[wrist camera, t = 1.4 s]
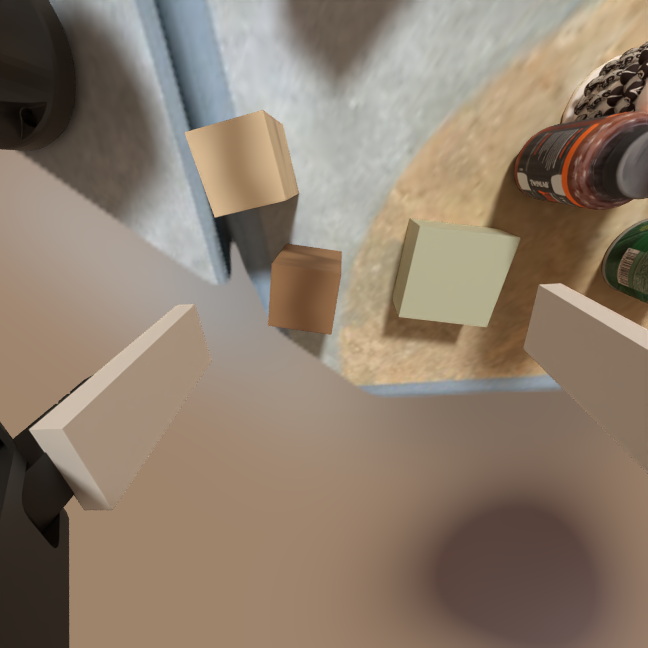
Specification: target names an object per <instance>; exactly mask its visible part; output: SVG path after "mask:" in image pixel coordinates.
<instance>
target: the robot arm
mask: <svg viewBox="0 0 648 648" xmlns="http://www.w3.org/2000/svg"><path fill="white" fill-rule="evenodd" d="M74 101H75V72H74V66H73V60H72V56H71V52H70V48H69V45H68V42H67V39H66V36H65V33H64V31H63V28H62V26H61V23H60V21H59V19H58V17H57V15H56V13H55V11H54V9H53V7H52V6H51V4H50V2H49V0H0V149H6V150H34V149H38V148H41V147H44V146H46V145H48V144H50V143H51V142H53V141H54V140H55V139H56V138H58V137H59V135H60V134H61V133H62V132H63V131H64V129H65V127H66V126H67V124H68V122H69V120H70V117H71V114H72V111H73V107H74ZM523 349H524V350H525V351H526V352H527V353H528V354H529V355H530V356H531V357H532V358H533V359H534V360H535V361H536V362H537V363H538V364H539V365H540V366H541V367H542V368H543V369H544V370H545V371H546V372H547V373H548V374H549V375H550V376H551V377H552V378H553V379H554V380H555V381H556V382H557V383H558V384H559V385H560V386H561V387H562V388H563V389H564V390H565V391H566V392H567V393H568V394H569V395H570V396H571V397H572V398H573V399H574V400H575V401H576V402H577V403H578V404H579V405H580V406H581V407H582V408H583V409H584V410H585V411H586V412H587V413H588V414H589V415H590V416H591V417H592V418H593V419H594V420H595V421H596V422H597V423H598V424H599V425H600V426H601V427H602V428H603V429H604V430H605V431H606V432H607V433H608V434H609V435H610V436H611V437H612V438H613V439H614V440H615V441H616V442H617V443H618V444H619V445H620V446H621V447H622V448H623V449H624V450H625V451H626V452H627V453H628V454H629V455H630V456H631V457H632V458H633V459H634V460H635V461H636V462H637V463H638V464H639V465H640V466H641V467H642V468H643V469H644V470H645V471H646V472H647V473H648V329H646V328H644V327H642V326H640V325H638V324H636V323H634V322H633V321H631V320H629V319H627V318H625V317H623V316H621V315H619V314H618V313H616V312H614V311H612V310H610V309H608V308H606V307H604V306H603V305H601V304H599V303H597V302H595V301H593V300H591V299H589V298H587V297H586V296H584V295H582V294H580V293H578V292H576V291H574V290H572V289H571V288H569V287H567V286H565V285H563V284H561V283H558V284H541V285H539V286H538V290H537V294H536V298H535V302H534V307H533V311H532V315H531V319H530V323H529V327H528V331H527V335H526V339H525V343H524V348H523ZM211 362H212V361H211V357H210V354H209V350H208V347H207V344H206V340H205V337H204V333H203V330H202V327H201V323H200V320H199V316H198V313H197V309H196V306H195V304H189V305H176V306H175V307H174V308H173V309H172V310H170V311H169V312H168V313H167V314H166V315H164V316H163V317H162V318H161V319H160V320H159V321H158V322H156V323H155V324H154V325H153V326H151V327H150V328H149V329H148V330H147V331H145V333H143V334H142V335H141V336H140V337H138V338H137V339H136V340H135V341H133V342H132V343H131V344H130V345H129V346H128V347H126V348H125V349H124V350H123V351H122V352H121V353H119V354H118V355H117V356H116V357H115V358H113V359H112V360H111V361H110V362H109V363H107V364H106V365H105V366H104V367H103V368H101V369H100V370H99V371H98V372H97V373H95V374H94V375H92V376H90V377H89V378H87V379H85V380H84V381H82V382H81V383H80V384H79V385H78V386H76V387H75V388H74V389H73V390H72V391H71V392H70V394H67V395H66V396H64V397H63V398H62V399H61V400H60V401H59V403H58V404H55V405H53V407H51V408H50V409H49V410H47V411H46V412H45V413H44V414H43V415H41V416H40V417H39V418H38V419H37V420H35V421H34V422H33V423H32V424H31V425H29V426H28V427H27V428H26V429H25V430H23V431H22V432H21V433H20V434H19V435H17V436H16V437H15V438H14V439H12V437H11V436H10V435H9V433H8V432H7V430H6V429H5V428H4V426H3V425H2V424H1V423H0V648H69V517H68V515H67V512H66V511H65V509H64V508H63V507H64V506H65V505H66V504H67V502H68V501H69V500H70V499H71V498H72V496H73V495H74V496H75V497H76V499H77V500H78V502H79V503H80V505H81V506H82V507H83V509H84V510H113V509H114V508H115V506H116V505H117V503H118V501H119V500H120V499H121V497H122V495H123V494H124V493H125V491H126V490H127V488H128V487H129V485H130V484H131V482H132V480H133V479H134V477H135V476H136V474H137V473H138V471H139V470H140V468H141V467H142V465H143V464H144V462H145V461H146V459H147V458H148V456H149V455H150V453H151V452H152V450H153V449H154V447H155V446H156V444H157V443H158V441H159V440H160V438H161V437H162V435H163V434H164V432H165V431H166V429H167V428H168V426H169V425H170V423H171V422H172V420H173V419H174V417H175V416H176V414H177V413H178V411H179V410H180V408H181V407H182V405H183V404H184V402H185V401H186V399H187V398H188V396H189V395H190V393H191V392H192V390H193V389H194V387H195V386H196V384H197V383H198V381H199V380H200V378H201V377H202V375H203V374H204V372H205V371H206V369H207V368H208V366H209V365H210V363H211Z"/></svg>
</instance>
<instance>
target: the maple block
mask: <svg viewBox="0 0 648 648" xmlns="http://www.w3.org/2000/svg"><path fill="white" fill-rule="evenodd" d="M185 135H186V138H187V141H188V144H189V146H190V149H191V152H192V155H193V158H194V160H195V163H196V166H197V169H198V172H199V174H200V177H201V180H202V183H203V186H204V188H205V191H206V194H207V197H208V200H209V202H210V205H211V208H212V211H213V213H214V216H215V217H219V216H223V215H227V214H231V213H236V212H240V211H244V210H248V209H252V208H257V207H261V206H265V205H269V204H273V203H278V202H282V201H286V200H288V199H290V198H291V197H293V196H295V195H297V194H299V191H298V187H297V182H296V178H295V174H294V170H293V166H292V161H291V157H290V153H289V149H288V144H287V140H286V136H285V132H284V128H283V124H281V123H280V122H278V121H277V120H276V119H274V118H273V117H272V116H270V115H269V114H268V113H266V112H265V111H264V110H261V111H258V112H254V113H251V114H247V115H244V116H240V117H237V118H233V119H230V120H226V121H223V122H219V123H216V124H212V125H209V126H205V127H202V128H198V129H195V130H191V131H188V132H185Z"/></svg>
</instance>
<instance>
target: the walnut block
mask: <svg viewBox="0 0 648 648" xmlns="http://www.w3.org/2000/svg"><path fill="white" fill-rule="evenodd" d="M341 258H342V252H341V251H334V250H327V249H320V248H313V247H306V246H299V245H293V244H286V246H285V247H284V248H283V249H282V251H281V252H280V253H279V255H278V256H277V257H276V259H275V260H274V261H273V263H272V268H271V285H270V303H269V321H268V322H269V323H268V325H269V326H274V327H281V328H288V329H296V330H303V331H310V332H317V333H324V334H331V333H332V327H333V321H334V315H335V309H336V303H337V296H338V290H339V284H340V278H341Z"/></svg>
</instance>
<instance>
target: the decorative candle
mask: <svg viewBox="0 0 648 648" xmlns="http://www.w3.org/2000/svg"><path fill="white" fill-rule="evenodd" d="M624 112H647V113H648V42H646V43H645V44H643V45H642V46H641V47H640V48H632V49H630V50H628V51H626V52H625V53H624V54H623V55H621V56H617V57H614V58H613V59H611V60H609V61H608V62H606V63H605V64H603V65H601V66H600V67H598V68H597V69H595V70H593V71H592V72H591V73H590V74H589V75H588V77H587V78H586V79H585V80H584V81H583V82H582V83H581V84H580V85H579V87H578V88H577V89H576V90H575V91H574V93H573V95H572V97H571V99H570V101H569V103H568V105H567V107H566V109H565V111H564V113H563V119H562V124H563V123H568V122H574V121H579V120H585V119H590V118H596V117H602V116H607V115H613V114H619V113H624Z"/></svg>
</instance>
